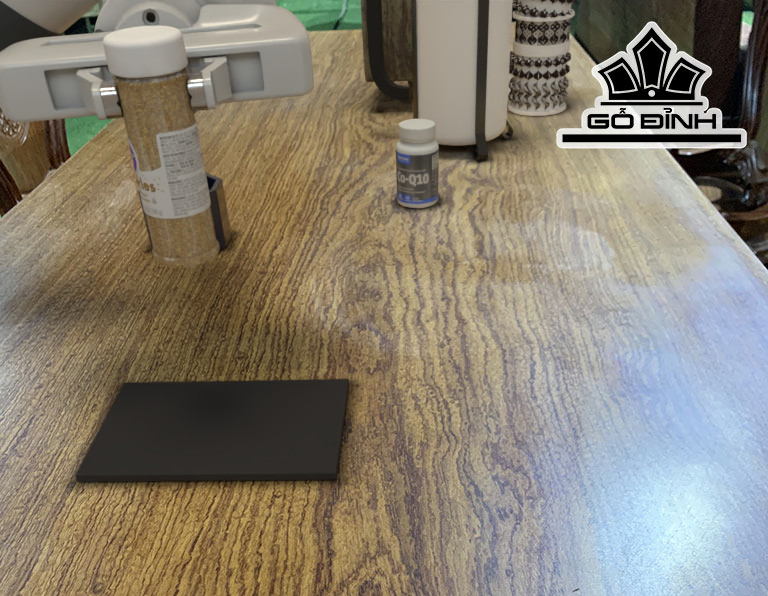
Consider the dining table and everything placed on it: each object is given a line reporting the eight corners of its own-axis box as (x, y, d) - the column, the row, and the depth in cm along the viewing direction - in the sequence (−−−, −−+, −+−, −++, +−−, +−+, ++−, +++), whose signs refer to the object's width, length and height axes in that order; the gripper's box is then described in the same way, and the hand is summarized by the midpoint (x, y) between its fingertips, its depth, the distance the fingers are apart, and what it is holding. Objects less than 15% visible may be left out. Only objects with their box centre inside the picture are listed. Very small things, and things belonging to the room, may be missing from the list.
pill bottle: (392, 207, 93) (389, 128, 88) (403, 192, 97) (401, 116, 91) (432, 210, 92) (432, 130, 86) (443, 195, 95) (443, 117, 90)
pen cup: (145, 259, 85) (131, 200, 81) (164, 228, 91) (152, 173, 87) (221, 257, 85) (211, 198, 81) (235, 226, 91) (226, 170, 87)
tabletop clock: (376, 89, 132) (367, -105, 116) (432, 88, 131) (432, -108, 115) (366, 115, 121) (355, -95, 105) (428, 114, 120) (426, -99, 104)
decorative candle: (550, 120, 116) (568, -102, 99) (493, 111, 120) (501, -103, 104) (580, 104, 121) (602, -109, 105) (524, 96, 125) (537, -110, 109)
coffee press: (490, 120, 117) (500, -152, 97) (534, 154, 105) (556, -148, 85) (371, 136, 114) (356, -142, 94) (403, 172, 102) (394, -136, 82)
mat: (77, 482, 57) (74, 475, 57) (125, 388, 66) (123, 382, 66) (336, 480, 56) (335, 473, 56) (349, 385, 65) (348, 378, 65)
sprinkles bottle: (143, 254, 57) (89, 32, 48) (203, 236, 59) (161, 19, 50) (171, 277, 54) (118, 44, 45) (233, 257, 56) (194, 30, 47)
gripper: (-6, 11, 56) (-48, 56, 46) (294, -14, 58) (318, 25, 48) (25, 110, 60) (-8, 173, 50) (303, 84, 62) (327, 139, 52)
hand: (155, 100), depth 49 cm, fingers closed on sprinkles bottle, 4 cm apart
